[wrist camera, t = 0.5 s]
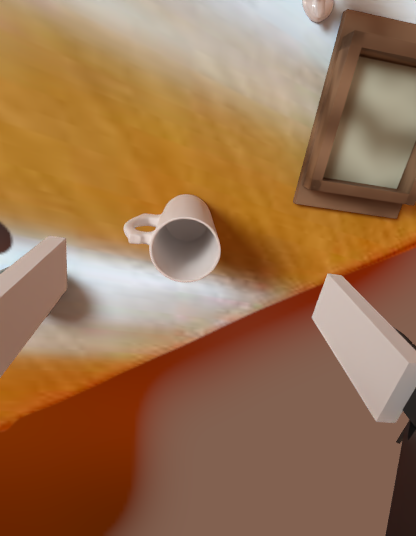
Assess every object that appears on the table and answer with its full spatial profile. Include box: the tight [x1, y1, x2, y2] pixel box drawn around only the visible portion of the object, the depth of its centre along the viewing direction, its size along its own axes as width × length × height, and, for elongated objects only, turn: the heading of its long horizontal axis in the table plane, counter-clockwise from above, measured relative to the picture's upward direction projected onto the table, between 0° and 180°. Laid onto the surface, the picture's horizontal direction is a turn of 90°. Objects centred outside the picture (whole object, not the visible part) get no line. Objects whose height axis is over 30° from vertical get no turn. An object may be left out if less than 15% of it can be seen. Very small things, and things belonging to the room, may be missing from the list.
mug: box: [124, 194, 221, 282], centre depth 35 cm, size 10×7×12 cm, turn 80°
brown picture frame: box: [293, 9, 416, 219], centre depth 35 cm, size 20×14×4 cm
